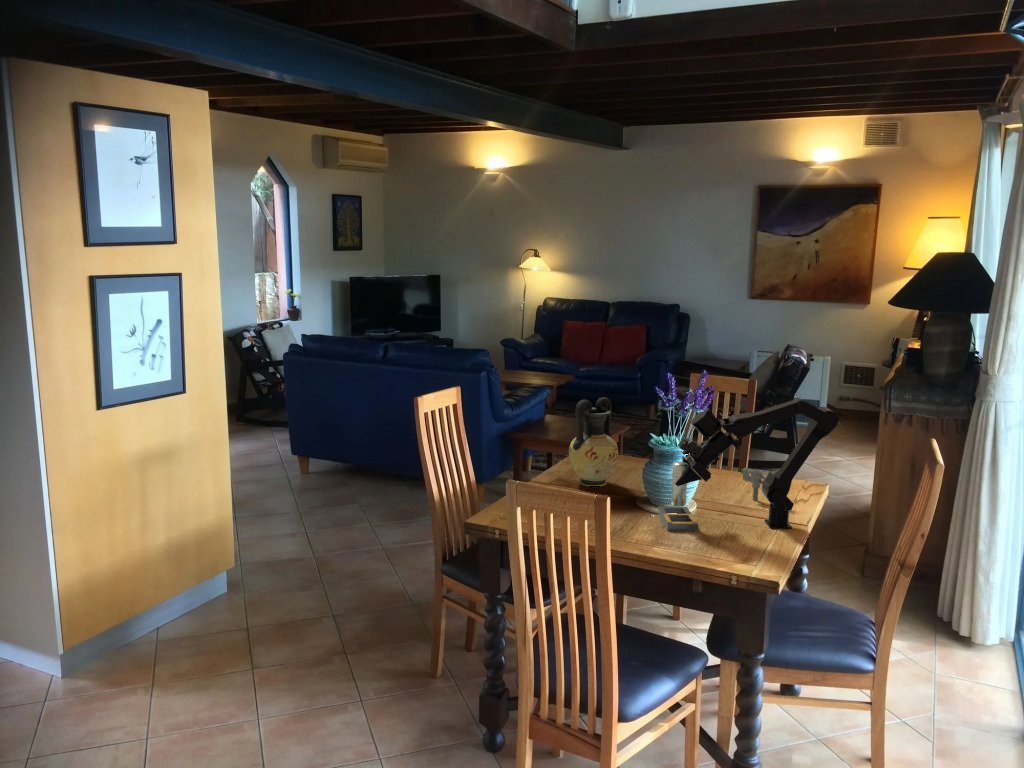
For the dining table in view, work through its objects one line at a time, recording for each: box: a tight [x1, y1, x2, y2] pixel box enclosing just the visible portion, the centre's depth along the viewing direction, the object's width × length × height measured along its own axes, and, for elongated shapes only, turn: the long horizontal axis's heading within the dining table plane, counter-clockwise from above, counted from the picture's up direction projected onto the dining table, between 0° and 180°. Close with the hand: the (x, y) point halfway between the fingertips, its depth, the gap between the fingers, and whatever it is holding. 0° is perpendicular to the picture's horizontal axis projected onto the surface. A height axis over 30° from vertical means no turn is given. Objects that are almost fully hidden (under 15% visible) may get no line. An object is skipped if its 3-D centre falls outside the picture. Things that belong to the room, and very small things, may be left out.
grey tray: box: [657, 505, 699, 532], centre depth 254 cm, size 16×9×2 cm, turn 0°
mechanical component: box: [740, 467, 768, 501], centre depth 275 cm, size 3×10×10 cm, turn 53°
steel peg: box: [670, 461, 688, 507], centre depth 251 cm, size 4×4×12 cm
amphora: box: [568, 396, 619, 487], centre depth 289 cm, size 18×17×30 cm
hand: (674, 482), depth 251 cm, fingers closed on steel peg, 4 cm apart
